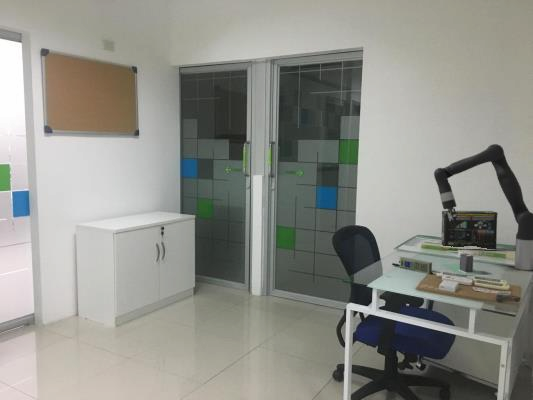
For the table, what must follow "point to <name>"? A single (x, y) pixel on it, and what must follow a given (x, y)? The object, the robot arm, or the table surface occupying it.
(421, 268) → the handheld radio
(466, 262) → the block
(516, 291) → the table surface
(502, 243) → the table surface
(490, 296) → the table surface
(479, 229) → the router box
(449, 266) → the pale green flat block
